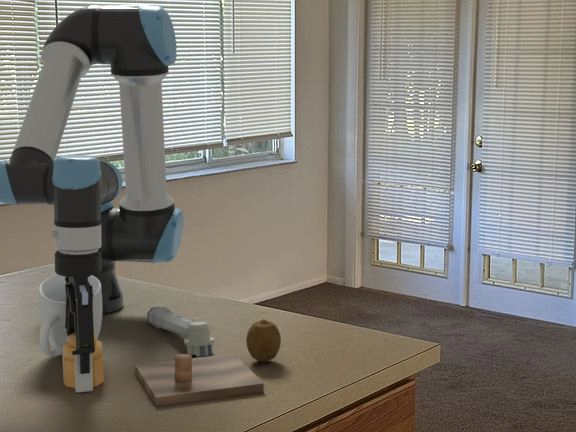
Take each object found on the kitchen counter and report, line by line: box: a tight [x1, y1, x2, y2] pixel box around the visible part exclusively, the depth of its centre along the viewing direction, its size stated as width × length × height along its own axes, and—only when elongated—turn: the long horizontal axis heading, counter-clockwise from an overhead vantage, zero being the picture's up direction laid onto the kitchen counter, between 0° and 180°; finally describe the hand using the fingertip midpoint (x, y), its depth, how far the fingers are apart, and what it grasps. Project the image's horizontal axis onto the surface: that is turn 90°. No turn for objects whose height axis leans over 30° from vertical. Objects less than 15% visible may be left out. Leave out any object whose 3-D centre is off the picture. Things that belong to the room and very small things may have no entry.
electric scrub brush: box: [146, 306, 215, 358], centre depth 173 cm, size 5×7×25 cm
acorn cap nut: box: [62, 333, 105, 389], centre depth 150 cm, size 6×6×8 cm
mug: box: [38, 274, 103, 358], centre depth 161 cm, size 15×11×13 cm
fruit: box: [245, 318, 282, 364], centre depth 161 cm, size 6×6×8 cm
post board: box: [134, 353, 265, 407], centre depth 150 cm, size 16×18×6 cm
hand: (79, 381), depth 150 cm, fingers open, 8 cm apart
